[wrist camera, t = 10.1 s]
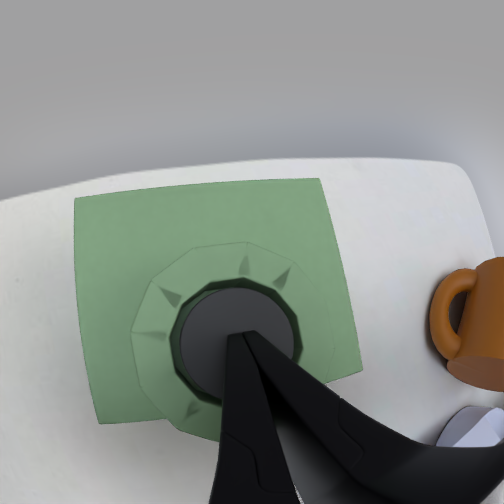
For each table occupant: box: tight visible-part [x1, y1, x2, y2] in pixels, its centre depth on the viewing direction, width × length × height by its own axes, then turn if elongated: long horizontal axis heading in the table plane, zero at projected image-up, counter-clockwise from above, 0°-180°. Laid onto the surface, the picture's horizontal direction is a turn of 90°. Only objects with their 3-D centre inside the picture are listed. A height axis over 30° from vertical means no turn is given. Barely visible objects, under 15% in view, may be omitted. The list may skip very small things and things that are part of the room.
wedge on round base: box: [436, 406, 504, 447], centre depth 15 cm, size 9×7×13 cm
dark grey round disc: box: [179, 287, 294, 399], centre depth 10 cm, size 4×4×2 cm
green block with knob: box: [74, 178, 363, 443], centre depth 14 cm, size 10×11×9 cm
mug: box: [429, 257, 504, 392], centre depth 20 cm, size 9×12×9 cm
